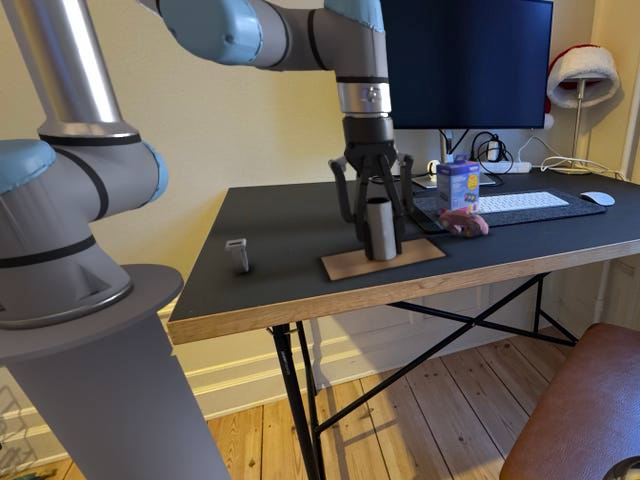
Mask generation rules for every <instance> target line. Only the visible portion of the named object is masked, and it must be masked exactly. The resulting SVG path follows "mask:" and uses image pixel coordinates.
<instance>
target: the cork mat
mask: <svg viewBox="0 0 640 480" xmlns="http://www.w3.org/2000/svg"><path fill="white" fill-rule="evenodd" d="M401 246H402V254H400V255H398V254H397V255H396V257H394V258H392V259H390V260H384V261H378V260H374V259H373V260H370V261H369V260H368V258H367V257H366V256H365V250H364V249H360V250H359V249H358V250H354V251H348V252H344V253H339V254H334V255H328V256H323V257H320V259H321V261H322V263H323V265H324V268H325V270H326V272H327V274H328V276H329V279H330V281H331V282H333V281H338V280H342V279H349V278H352V277H357V276H361V275H365V274H366V275H367V274H371V273H374V272H379V271H383V270H388V269H393V268H396V267H402V266H407V265H411V264H415V263H419V262H426V261H428V260H429V261H430V260H435V259H438V258H444V257H446V255H447V254H445V253H444V252H443V251H442V250H440V249H439V248H438V247H437V246H435V245H434V244H433V243H431V242H430V241H429V240H427V238H425V237H423V238H418V239H412V240H407V241H401Z"/></svg>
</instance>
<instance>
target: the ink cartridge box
mask: <svg viewBox="0 0 640 480" xmlns="http://www.w3.org/2000/svg"><path fill="white" fill-rule="evenodd" d="M468 156H469V152H466V153H459V154H456V156H455V157H454V160H453V161H446V162H443V163H438V164H435V173H436V174H435V178H436V179H435V181H436V212H437V214H436V215H438V216H439V217H440V216H441V215H442V214H443V213H445V212H446V210H450V211H454V210H466V211H468V212H471V213H478V212H479V200H480V199H479V198H480V196H479V195H480V172H481V171H480V170H481V166H480V165H481V164H480V162H476V161H472V160H467V158H468ZM461 157H463V158H461ZM476 208H477V209H476ZM472 209H474V210H472ZM469 210H470V211H469Z"/></svg>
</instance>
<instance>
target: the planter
mask: <svg viewBox="0 0 640 480" xmlns="http://www.w3.org/2000/svg"><path fill="white" fill-rule="evenodd" d="M393 214H394V213H393V209H392V205H391V199H390V198H388V196H373V197H369V198H366V205H365V215H364V218H365V221H366V222H367V223H368V224H369V230H370V237H371V245H372V252H373V259H374V260H378V261H384V260H390V259H392V258H394V257H396V255H397V252H396V242H395V233H394V224H393V216H394V215H393Z"/></svg>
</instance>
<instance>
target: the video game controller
mask: <svg viewBox="0 0 640 480" xmlns="http://www.w3.org/2000/svg"><path fill="white" fill-rule="evenodd" d="M438 224H439V225H440V226H441V227H442V229H444V230H445V231H448V232H449V233H450V234H451V235H454V236H458V235H460V233H461V232H462V227H464V229H463V235H464V236H465V237H468V238H474V236H475V234H477V233H478V234H479V235H481V236H486V235H488V233H489V225H488V223H487V222H486V221H485V220H484V219H483V217H482V216H481V215H480V214H478V212H476V213H471V212H468V211H466V210H454V211H450V210H446V212H445V213H443V214H442V215H441V216H440V215H439V217H438ZM461 226H462V227H461Z"/></svg>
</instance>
